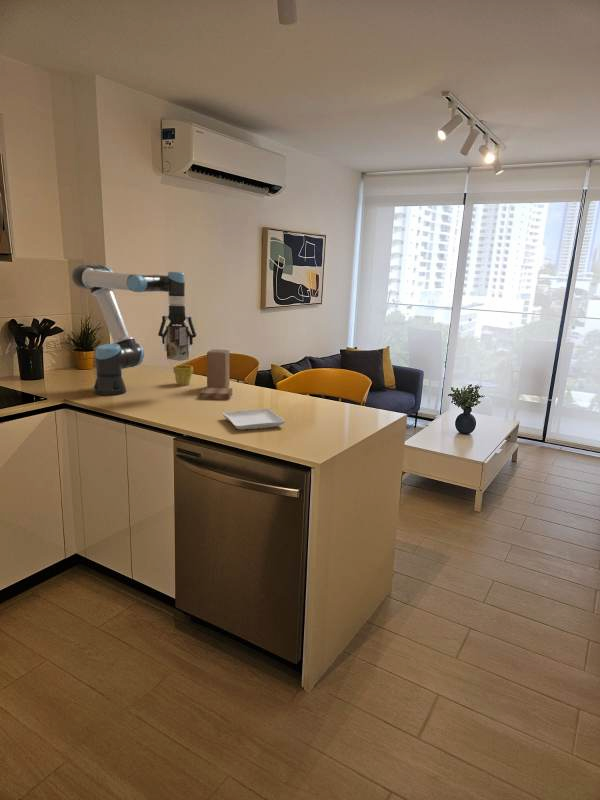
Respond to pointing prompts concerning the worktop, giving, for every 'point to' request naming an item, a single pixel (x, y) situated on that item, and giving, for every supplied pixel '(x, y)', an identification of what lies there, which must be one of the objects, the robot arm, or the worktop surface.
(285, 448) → the worktop surface
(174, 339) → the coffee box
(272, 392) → the worktop surface
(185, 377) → the plant pot
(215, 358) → the block
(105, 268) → the robot arm
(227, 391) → the walnut riser
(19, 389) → the worktop surface
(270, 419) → the salad plate
